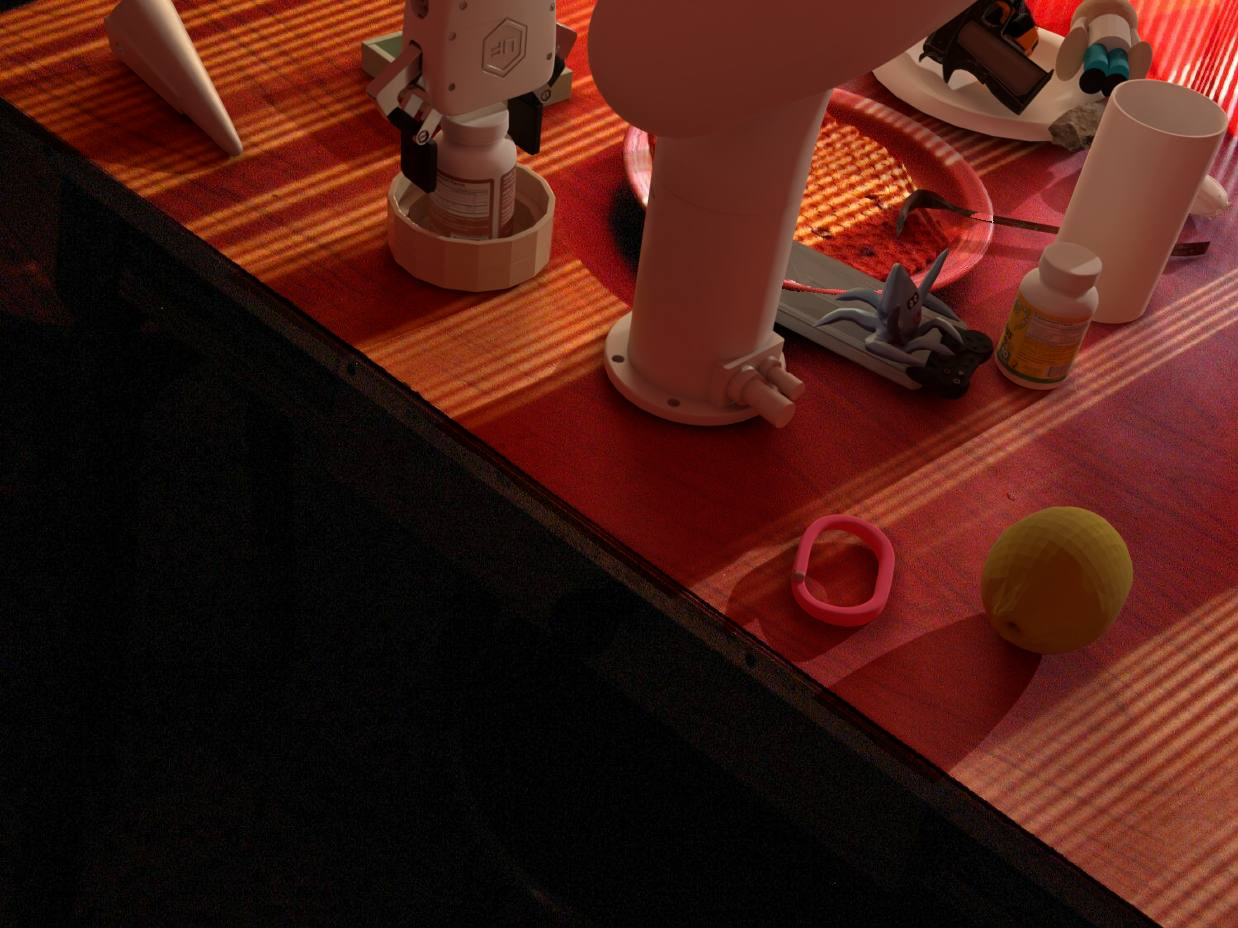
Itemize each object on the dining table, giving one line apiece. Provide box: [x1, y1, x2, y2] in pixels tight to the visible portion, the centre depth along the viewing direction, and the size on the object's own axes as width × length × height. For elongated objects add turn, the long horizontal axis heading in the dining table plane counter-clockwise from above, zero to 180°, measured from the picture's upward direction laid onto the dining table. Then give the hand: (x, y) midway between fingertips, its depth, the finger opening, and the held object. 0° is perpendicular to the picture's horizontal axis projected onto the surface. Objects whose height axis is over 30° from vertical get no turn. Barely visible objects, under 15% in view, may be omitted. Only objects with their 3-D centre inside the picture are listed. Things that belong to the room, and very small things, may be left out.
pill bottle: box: [429, 102, 518, 241], centre depth 100 cm, size 6×6×11 cm
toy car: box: [1189, 173, 1233, 221], centre depth 120 cm, size 5×12×4 cm, turn 44°
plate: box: [870, 26, 1105, 144], centre depth 131 cm, size 25×25×2 cm
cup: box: [1053, 78, 1230, 325], centre depth 103 cm, size 8×8×16 cm
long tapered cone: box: [103, 0, 244, 157], centre depth 114 cm, size 6×6×19 cm
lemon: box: [979, 506, 1134, 655], centre depth 79 cm, size 11×8×8 cm
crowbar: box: [895, 188, 1212, 257], centre depth 112 cm, size 26×2×5 cm
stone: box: [1048, 97, 1110, 153], centre depth 122 cm, size 13×5×3 cm, turn 135°
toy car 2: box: [984, 1, 1040, 57], centre depth 132 cm, size 12×12×3 cm
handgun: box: [919, 0, 1054, 116], centre depth 127 cm, size 3×19×12 cm
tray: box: [360, 29, 574, 127], centre depth 121 cm, size 14×13×3 cm
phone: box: [774, 239, 969, 391], centre depth 102 cm, size 8×16×1 cm, turn 54°
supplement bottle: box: [994, 242, 1102, 391], centre depth 97 cm, size 5×5×10 cm
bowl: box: [386, 161, 557, 293], centre depth 102 cm, size 12×12×4 cm
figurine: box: [813, 247, 995, 401], centre depth 95 cm, size 10×12×8 cm
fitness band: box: [790, 514, 896, 628], centre depth 83 cm, size 8×6×2 cm
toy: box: [1055, 0, 1154, 97], centre depth 130 cm, size 8×6×15 cm
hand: (472, 164), depth 99 cm, fingers open, 8 cm apart
